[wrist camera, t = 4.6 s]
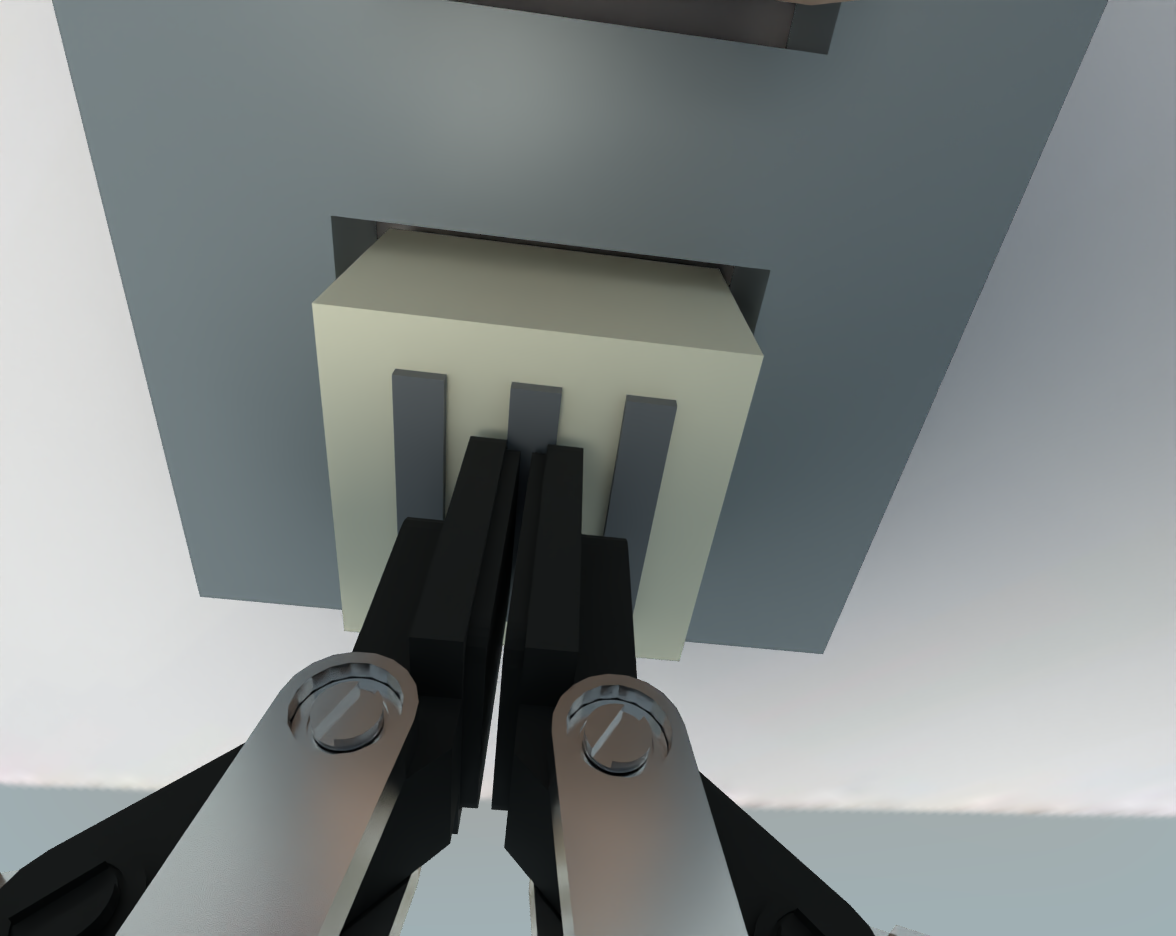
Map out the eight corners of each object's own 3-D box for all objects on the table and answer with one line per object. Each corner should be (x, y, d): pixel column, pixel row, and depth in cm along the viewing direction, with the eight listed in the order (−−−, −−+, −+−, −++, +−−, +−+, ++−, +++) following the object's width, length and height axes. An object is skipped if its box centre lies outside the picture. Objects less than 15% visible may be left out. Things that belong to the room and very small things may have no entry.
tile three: (718, 268, 13) (767, 361, 9) (661, 526, 16) (680, 670, 12) (389, 227, 12) (306, 307, 9) (398, 500, 16) (340, 639, 12)
